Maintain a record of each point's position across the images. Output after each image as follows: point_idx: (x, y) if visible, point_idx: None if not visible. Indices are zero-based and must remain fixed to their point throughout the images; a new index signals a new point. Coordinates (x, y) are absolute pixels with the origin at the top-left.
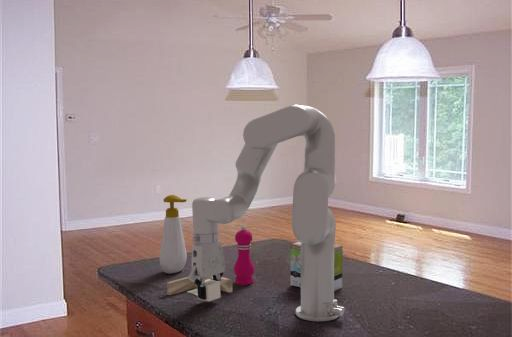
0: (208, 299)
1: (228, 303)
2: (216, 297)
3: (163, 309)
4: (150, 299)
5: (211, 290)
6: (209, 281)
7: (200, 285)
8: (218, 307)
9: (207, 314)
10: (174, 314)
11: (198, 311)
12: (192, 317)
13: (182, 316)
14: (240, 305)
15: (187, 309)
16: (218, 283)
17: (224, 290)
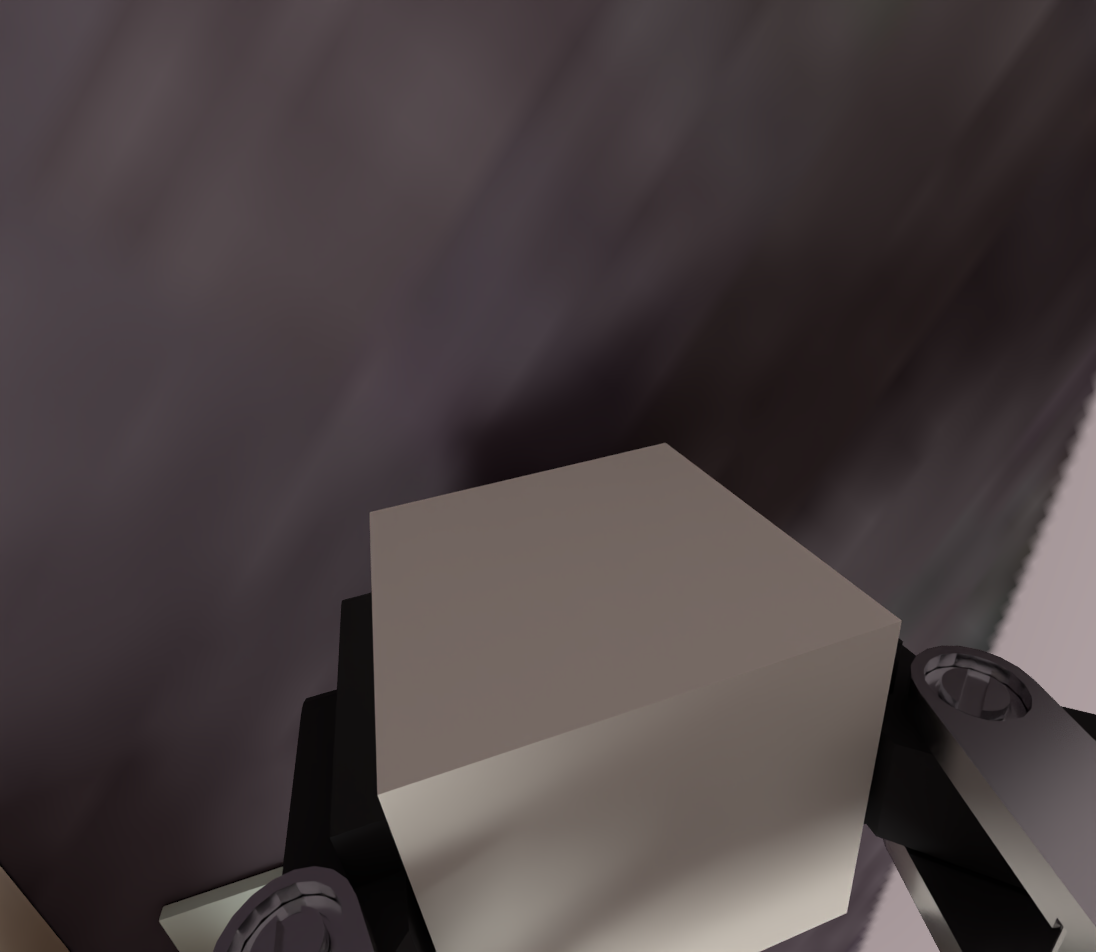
0: (681, 459)
1: (264, 356)
2: (481, 500)
3: (984, 622)
4: (860, 886)
5: (677, 556)
6: (610, 910)
7: (1018, 687)
8: (533, 289)
9: (853, 117)
10: (1044, 427)
11: (839, 336)
12: (1036, 175)
13: (1057, 305)
14: (68, 54)
15: (863, 490)
16: (444, 727)
17: (18, 911)
